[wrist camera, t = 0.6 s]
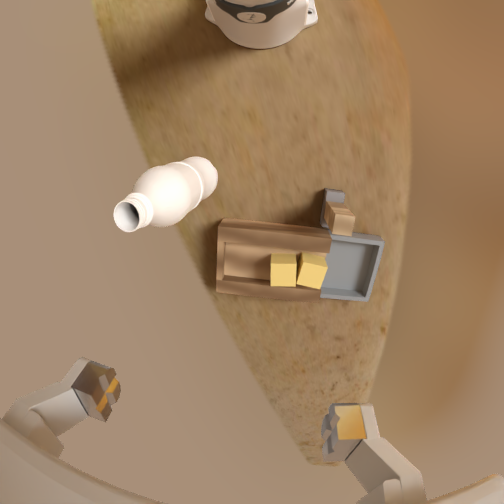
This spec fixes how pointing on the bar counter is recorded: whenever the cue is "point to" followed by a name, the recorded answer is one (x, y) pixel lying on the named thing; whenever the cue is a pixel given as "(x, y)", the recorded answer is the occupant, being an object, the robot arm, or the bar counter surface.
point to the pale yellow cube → (311, 270)
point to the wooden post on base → (336, 213)
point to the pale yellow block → (283, 269)
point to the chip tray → (351, 266)
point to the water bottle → (166, 194)
